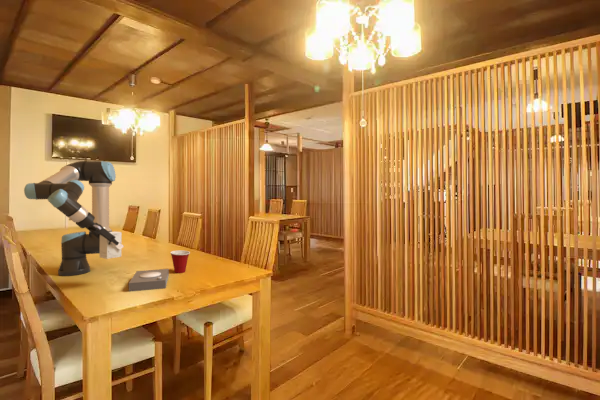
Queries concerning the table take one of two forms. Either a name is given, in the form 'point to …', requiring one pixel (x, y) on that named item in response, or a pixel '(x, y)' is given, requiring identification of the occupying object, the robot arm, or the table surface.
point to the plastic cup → (180, 260)
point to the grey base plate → (149, 280)
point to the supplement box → (110, 246)
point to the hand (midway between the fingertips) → (117, 247)
